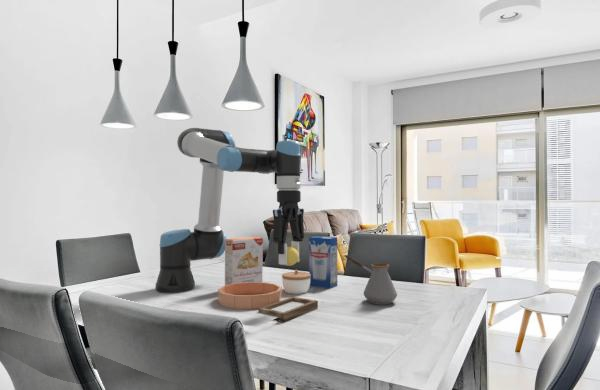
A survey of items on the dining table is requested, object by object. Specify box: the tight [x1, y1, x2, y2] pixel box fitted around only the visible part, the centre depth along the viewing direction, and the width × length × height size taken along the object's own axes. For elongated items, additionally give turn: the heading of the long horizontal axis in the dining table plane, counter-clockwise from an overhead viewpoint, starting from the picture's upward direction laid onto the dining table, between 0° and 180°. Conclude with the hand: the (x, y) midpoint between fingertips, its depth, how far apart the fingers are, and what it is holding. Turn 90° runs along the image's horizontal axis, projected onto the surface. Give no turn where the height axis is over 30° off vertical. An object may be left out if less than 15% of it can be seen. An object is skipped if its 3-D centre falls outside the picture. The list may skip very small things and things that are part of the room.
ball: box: [286, 246, 300, 267], centre depth 128 cm, size 6×6×6 cm
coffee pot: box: [342, 254, 398, 306], centre depth 144 cm, size 21×12×15 cm, turn 47°
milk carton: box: [308, 235, 338, 290], centre depth 167 cm, size 10×6×20 cm, turn 58°
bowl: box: [217, 281, 283, 310], centre depth 138 cm, size 21×21×6 cm
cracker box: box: [224, 236, 264, 286], centre depth 156 cm, size 14×6×21 cm, turn 131°
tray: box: [257, 296, 319, 323], centre depth 128 cm, size 10×18×2 cm, turn 145°
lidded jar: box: [281, 269, 311, 295], centre depth 151 cm, size 11×11×9 cm
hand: (289, 262), depth 128 cm, fingers closed on ball, 6 cm apart
